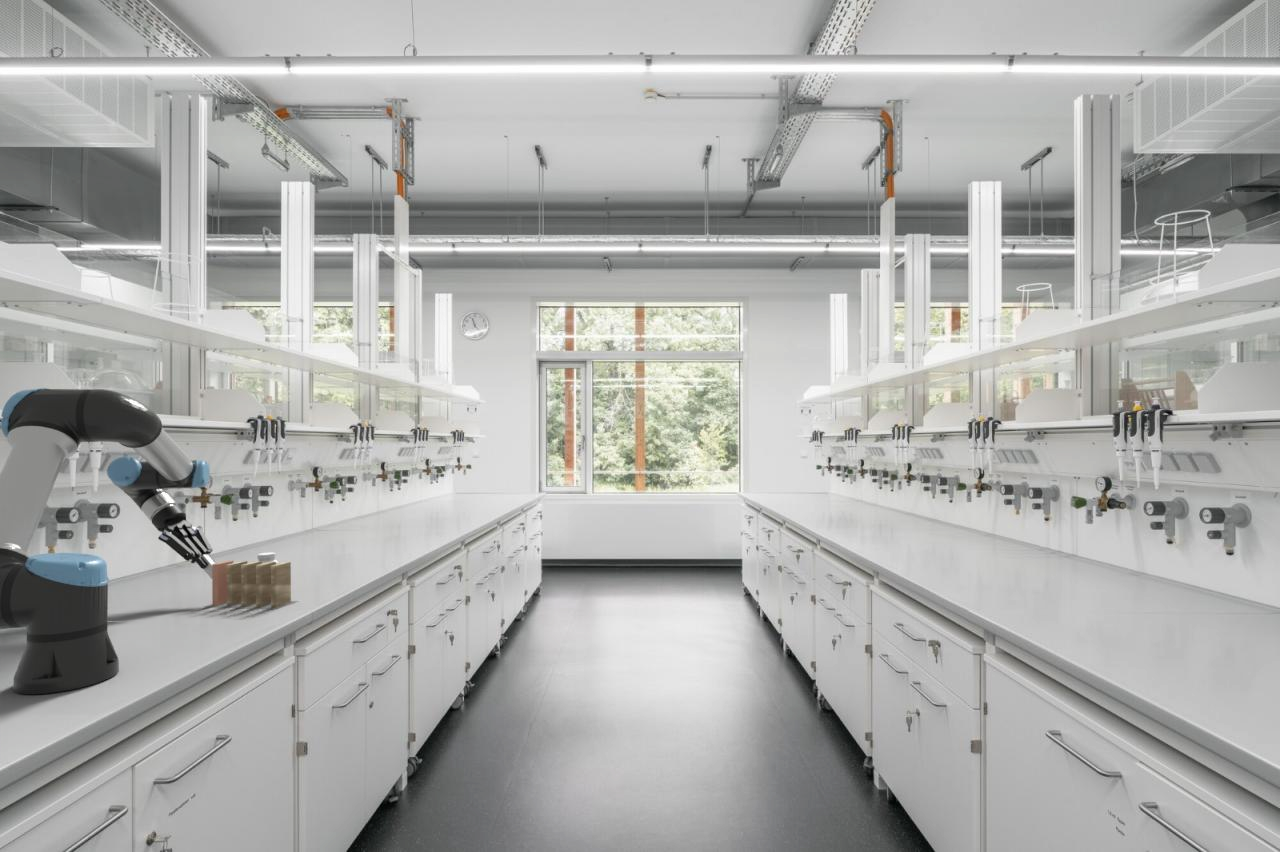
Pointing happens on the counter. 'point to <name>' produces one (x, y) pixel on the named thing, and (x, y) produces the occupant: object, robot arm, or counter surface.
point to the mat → (249, 606)
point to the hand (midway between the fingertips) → (216, 574)
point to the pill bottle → (267, 557)
